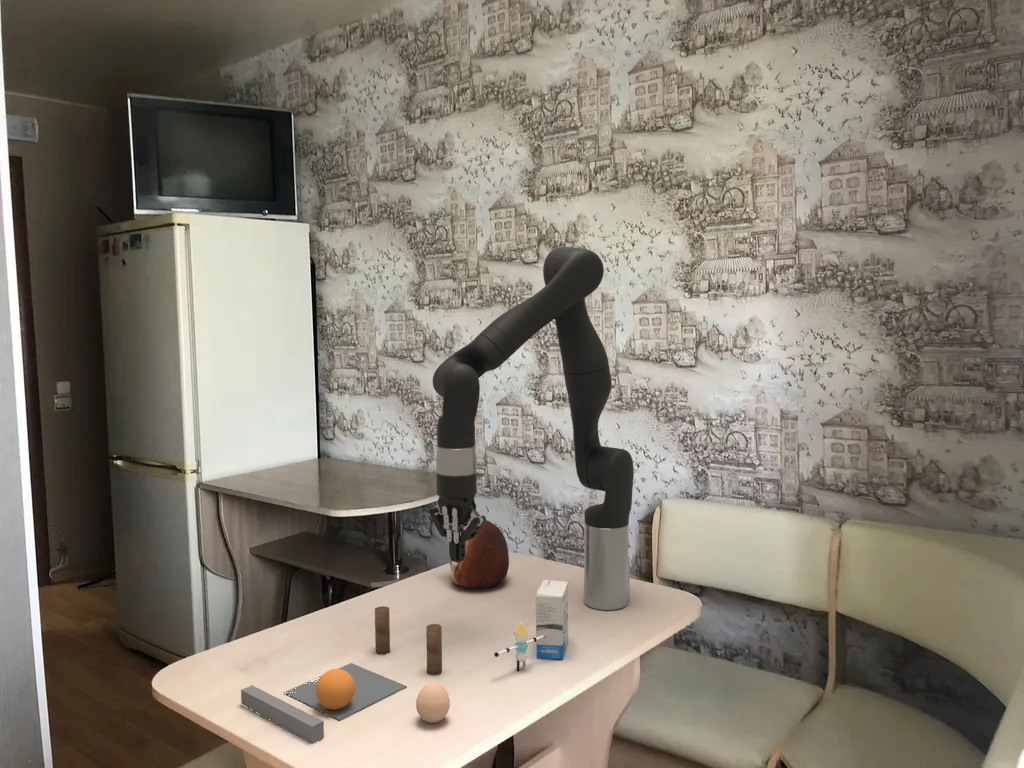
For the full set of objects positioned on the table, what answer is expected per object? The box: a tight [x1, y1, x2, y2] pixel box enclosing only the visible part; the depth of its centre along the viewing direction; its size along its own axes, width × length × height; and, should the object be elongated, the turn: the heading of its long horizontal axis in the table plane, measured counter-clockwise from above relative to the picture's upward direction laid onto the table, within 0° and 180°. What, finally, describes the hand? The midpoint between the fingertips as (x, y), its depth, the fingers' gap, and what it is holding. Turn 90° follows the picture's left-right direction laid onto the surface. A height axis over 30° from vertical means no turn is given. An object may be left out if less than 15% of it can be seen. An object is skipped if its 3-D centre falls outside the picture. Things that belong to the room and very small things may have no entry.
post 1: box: [374, 605, 391, 655], centre depth 148 cm, size 3×3×8 cm
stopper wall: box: [240, 684, 325, 744], centre depth 124 cm, size 2×18×2 cm, turn 51°
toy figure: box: [493, 620, 546, 672], centre depth 141 cm, size 12×2×9 cm, turn 133°
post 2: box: [425, 623, 443, 676], centre depth 140 cm, size 3×3×8 cm
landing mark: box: [283, 662, 407, 722], centre depth 134 cm, size 14×14×1 cm
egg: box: [415, 682, 451, 724], centre depth 124 cm, size 5×5×6 cm
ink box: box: [535, 579, 569, 661], centre depth 149 cm, size 9×5×12 cm, turn 169°
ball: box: [316, 668, 355, 710], centre depth 128 cm, size 6×6×6 cm
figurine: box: [443, 519, 510, 590], centre depth 184 cm, size 14×16×15 cm
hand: (457, 560), depth 153 cm, fingers closed
